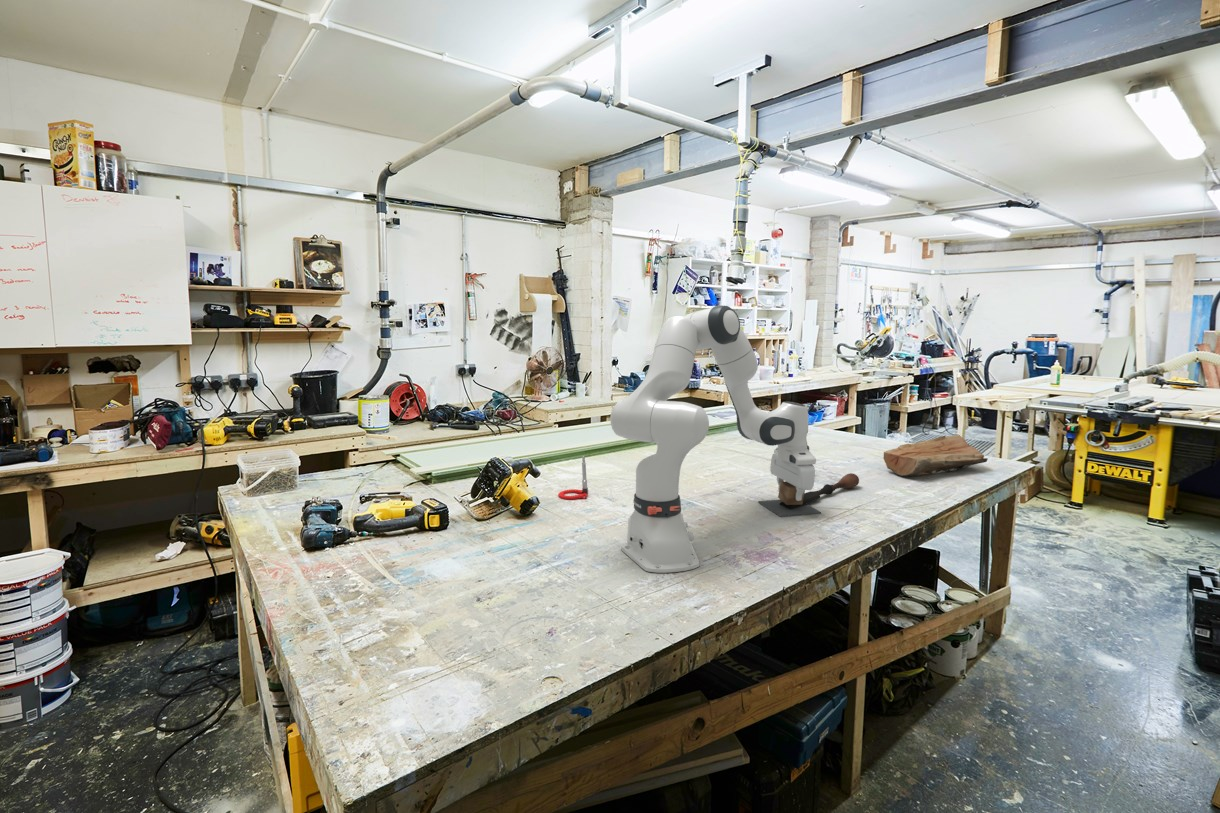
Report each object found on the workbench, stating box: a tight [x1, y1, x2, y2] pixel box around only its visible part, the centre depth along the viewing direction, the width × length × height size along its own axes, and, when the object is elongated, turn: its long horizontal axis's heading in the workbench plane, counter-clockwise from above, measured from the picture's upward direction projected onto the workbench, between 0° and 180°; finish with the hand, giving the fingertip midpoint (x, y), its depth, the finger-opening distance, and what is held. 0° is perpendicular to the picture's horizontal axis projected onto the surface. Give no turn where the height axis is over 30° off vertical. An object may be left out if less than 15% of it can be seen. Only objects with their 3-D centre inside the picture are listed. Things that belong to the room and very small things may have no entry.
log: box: [883, 434, 989, 477], centre depth 224 cm, size 42×17×15 cm, turn 111°
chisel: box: [779, 472, 860, 509], centre depth 191 cm, size 5×43×5 cm, turn 129°
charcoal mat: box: [757, 499, 822, 518], centre depth 180 cm, size 14×14×1 cm
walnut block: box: [777, 481, 806, 505], centre depth 179 cm, size 6×6×6 cm
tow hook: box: [558, 455, 589, 500], centre depth 191 cm, size 9×14×10 cm
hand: (789, 495), depth 180 cm, fingers open, 8 cm apart
